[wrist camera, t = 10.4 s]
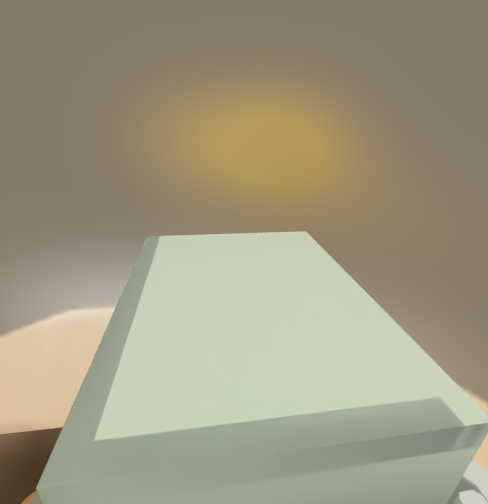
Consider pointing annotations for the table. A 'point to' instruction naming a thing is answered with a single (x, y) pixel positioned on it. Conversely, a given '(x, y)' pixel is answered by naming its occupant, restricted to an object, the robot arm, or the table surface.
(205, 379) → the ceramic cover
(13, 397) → the table surface
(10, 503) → the walnut board
